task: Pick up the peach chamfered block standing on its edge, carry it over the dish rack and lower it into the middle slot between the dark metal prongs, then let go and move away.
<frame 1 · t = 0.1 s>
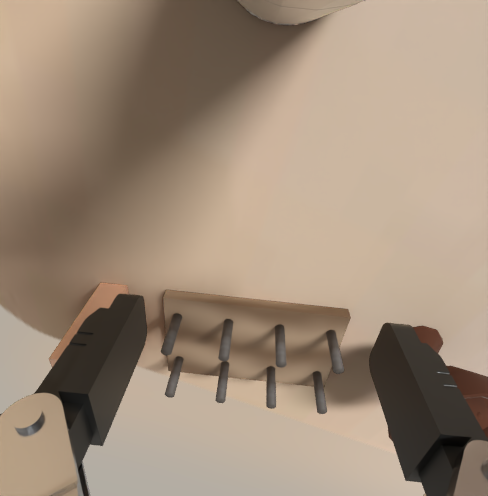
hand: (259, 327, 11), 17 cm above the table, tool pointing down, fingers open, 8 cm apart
peach chamfered block: (120, 317, 36), on the table
ice cream bowl: (414, 341, 36), on the table
dish rack: (251, 338, 37), on the table
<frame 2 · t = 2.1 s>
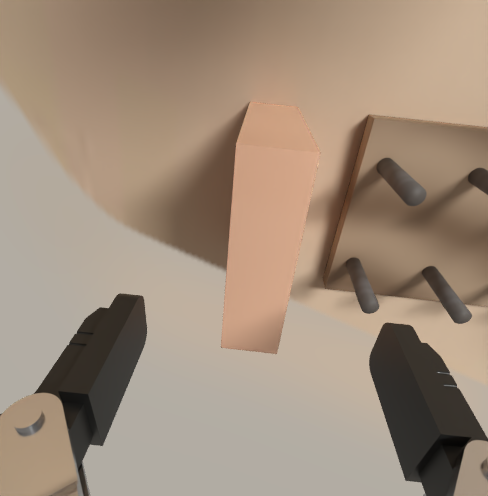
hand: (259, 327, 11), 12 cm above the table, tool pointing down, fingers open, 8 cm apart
peach chamfered block: (263, 185, 21), on the table
dish rack: (482, 224, 22), on the table
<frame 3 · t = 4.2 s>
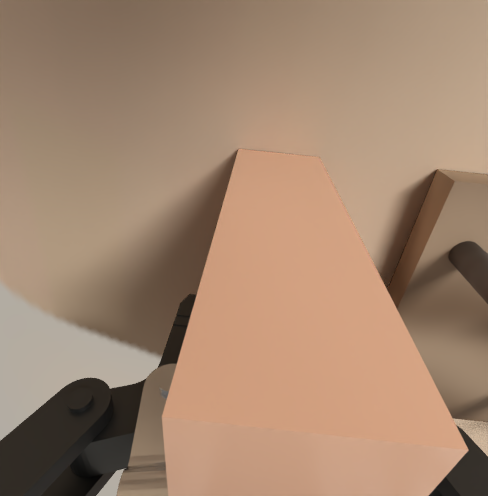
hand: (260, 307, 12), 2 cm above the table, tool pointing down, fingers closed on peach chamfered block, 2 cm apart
peach chamfered block: (262, 270, 14), on the table, touching gripper
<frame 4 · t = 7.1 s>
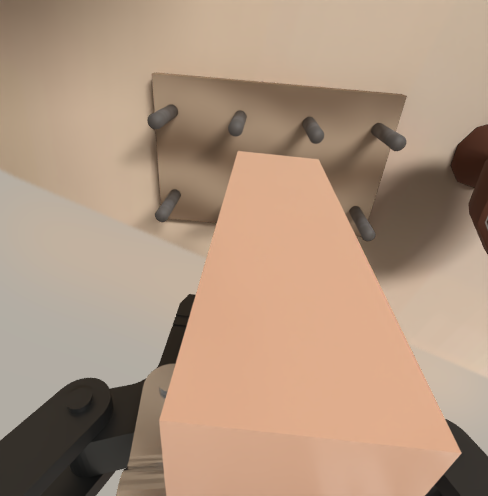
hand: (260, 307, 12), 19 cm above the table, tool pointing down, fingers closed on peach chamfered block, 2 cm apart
peach chamfered block: (261, 272, 14), point 17 cm above the table, touching gripper
ice cream bowl: (485, 155, 27), on the table
dish rack: (269, 160, 28), on the table
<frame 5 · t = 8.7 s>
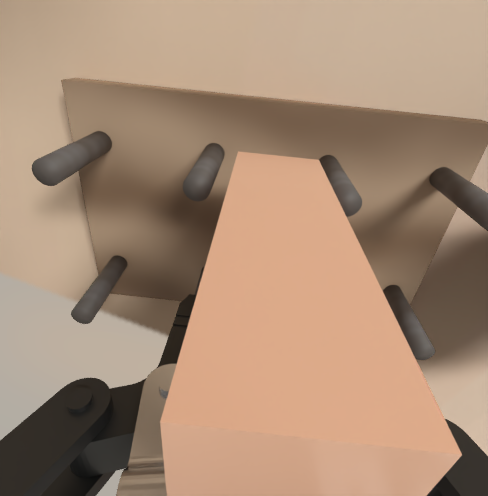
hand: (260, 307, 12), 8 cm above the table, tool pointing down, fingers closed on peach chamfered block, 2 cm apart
peach chamfered block: (261, 272, 14), point 5 cm above the table, touching gripper
dish rack: (262, 214, 18), on the table
when the fingers open (5 cm above the table, at t = 9.9 s): peach chamfered block drops 1 cm, resting on dish rack.
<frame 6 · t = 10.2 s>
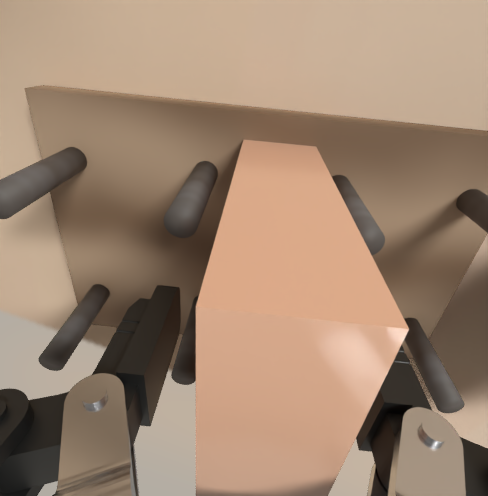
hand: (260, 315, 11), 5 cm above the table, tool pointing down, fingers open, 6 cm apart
peach chamfered block: (265, 252, 15), point 1 cm above the table, touching dish rack
dish rack: (262, 239, 16), on the table
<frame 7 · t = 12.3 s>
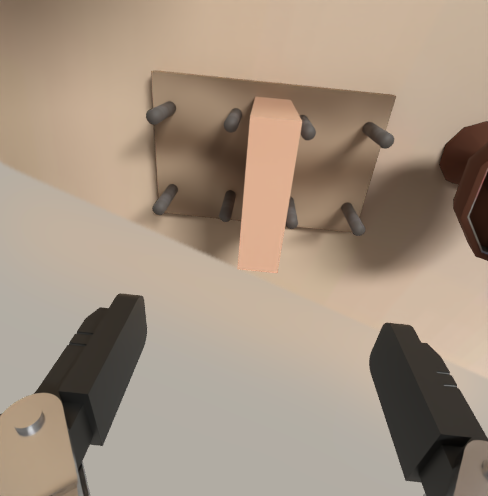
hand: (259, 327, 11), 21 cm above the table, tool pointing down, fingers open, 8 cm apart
peach chamfered block: (265, 161, 28), point 1 cm above the table, touching dish rack
ice cream bowl: (472, 154, 28), on the table
dish rack: (264, 157, 29), on the table
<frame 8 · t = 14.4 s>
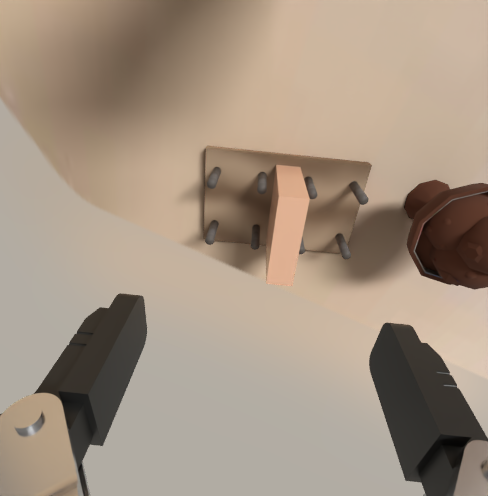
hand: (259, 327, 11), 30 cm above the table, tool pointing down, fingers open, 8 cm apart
peach chamfered block: (282, 205, 40), point 1 cm above the table, touching dish rack
ice cream bowl: (427, 201, 40), on the table
dish rack: (280, 201, 41), on the table
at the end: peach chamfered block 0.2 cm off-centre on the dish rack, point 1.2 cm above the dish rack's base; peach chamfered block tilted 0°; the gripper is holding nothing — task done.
